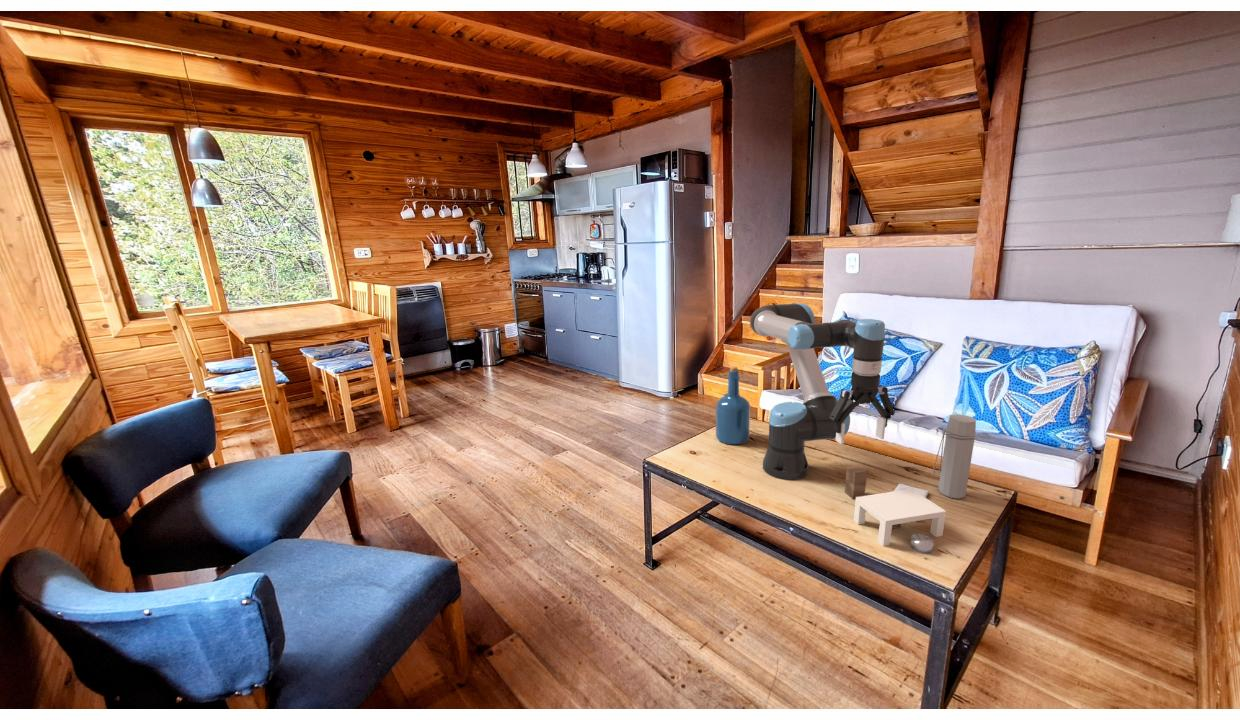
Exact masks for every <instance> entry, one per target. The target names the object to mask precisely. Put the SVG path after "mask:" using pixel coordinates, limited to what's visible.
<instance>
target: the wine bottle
mask: <svg viewBox="0 0 1240 720" xmlns="http://www.w3.org/2000/svg"><path fill="white" fill-rule="evenodd" d="M727 375H728V377H727V379H728V381H727V393H725V394H724V395H723V396H722V397H720V398H719V399H718V401H717V402H716V404H715V437H716V439H717V440H718V441H719V442H721V443H722V444H723V443H724V444H728V445H743V444H745V443H747V442H748V441H749V439H750V426H751V404H750V402H749V400H748V399H746V398H745V397H743V396H742V395H740V371H739V370H738V367H737V366H731V367H730V368H729V370H728V374H727Z"/></svg>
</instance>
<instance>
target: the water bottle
mask: <svg viewBox="0 0 1240 720" xmlns="http://www.w3.org/2000/svg"><path fill="white" fill-rule="evenodd" d="M976 422H977V420H976V418H974V417H972V416H969V415H967V414H959V413H957V414H951V415H949V418H948V421H947V424H946V429H942V433H941V434H942V436H941V440H940V443H939V447H938V451H937V454H936V457H935V461H934V465H933V475H935V476H939V481H938V482H939V483H938V492H939V493H940V494H942V495H943V496H945V497H947V498H951V499H963V498H964V497H966V495H967V490H968V489H967V488H968V483H969V475H970V470H971V464H972V458H973V452H974V451H973V450H974V446H975V438H976V436H977V435H976V434H977V433H976V426H977V425H976V424H977V423H976ZM940 449H941V453H940ZM939 454H940V461H939V462H940V463H939V470H938V471H939V472H938V473H936V469H935V468H936V463H937V461H938V457H939Z"/></svg>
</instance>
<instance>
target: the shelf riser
mask: <svg viewBox="0 0 1240 720" xmlns="http://www.w3.org/2000/svg"><path fill="white" fill-rule="evenodd" d="M866 512H867V513H869V514H870V515H871V516H872V517H873V518H875V519H876V520H877V521H878V522H879V529H878V538H877V543H879V544H880V545H881V546H882V547H886V546H890V545H891V538H892V525H895V524H901V525H902V524H907V523H913V522H919V521H924V520H930V519H931V524H930V531H929V532H930V534H931V535H933V537H936V538H938V537H943V534H944V528H945V521H946V516H947V515H946V514H947V511H946V510H945V509H943V508H942V507H941V506H939V505H937V504H936V503H934V502H933V501H931V500H929V499H928V498H927V497H926V498H925V497H924V496H922V495H920V494H919V493H917V492H916V491H914V490H913V489H907V490H901V491H894V490H893V491H889V492H888V491H887V492H882V493H876V494H875V493H874V494H870V495H869V494H868V495H865V496H861V497H856V500H855V502H854V515H853V522H855V523H856V524H857V525H864V524H866V523H865V521H866Z"/></svg>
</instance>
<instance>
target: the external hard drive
mask: <svg viewBox="0 0 1240 720" xmlns="http://www.w3.org/2000/svg"><path fill="white" fill-rule="evenodd" d="M907 489H913V490H914V491H916V492H917V493H919V494H920V495H922V496H924V497H925V498H927V496H928V495H929V492H928V490H924V489H922V488H918V487H914V486H911V485H907V484H903V483H898V484H897V486H896V487H895V488H894V490H893V492H894V491H901V490H907Z"/></svg>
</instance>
